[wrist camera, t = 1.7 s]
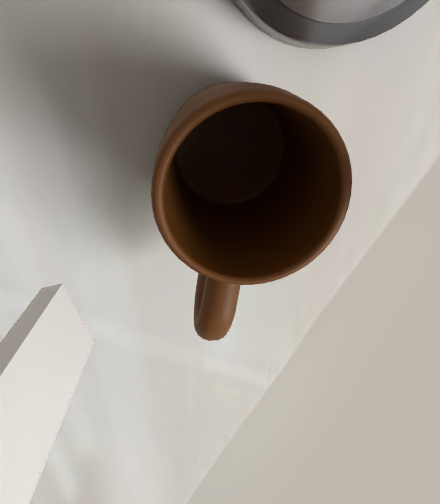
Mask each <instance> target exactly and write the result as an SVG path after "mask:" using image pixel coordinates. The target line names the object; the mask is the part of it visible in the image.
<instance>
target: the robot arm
mask: <svg viewBox="0 0 440 504" xmlns="http://www.w3.org/2000/svg"><path fill="white" fill-rule="evenodd" d="M94 342H95V340H94V339H93V337H92V335H91V333H90V332H89V330H88V328H87V326H86V324H85V323H84V321H83V319H82V317H81V316H80V314H79V312H78V310H77V309H76V307H75V305H74V303H73V301H72V300H71V298H70V296H69V294H68V293H67V291H66V289H65V287H64V285H63V284H58V285H54V286H50V287H45V288H42V289H41V290H40V291H39V293H38V294H37V295H36V296H35V298H34V299H33V300H32V302H31V303H30V304H29V306H28V307H27V308H26V310H25V311H24V312H23V314H22V315H21V316H20V318H19V319H18V320H17V322H16V323H15V324H14V326H13V327H12V328H11V330H10V331H9V332H8V334H7V335H6V336H5V337H4V339H3V340H2V341H1V343H0V504H29V503H30V500H31V498H32V495H33V493H34V490H35V488H36V486H37V483H38V481H39V478H40V476H41V473H42V471H43V468H44V466H45V463H46V461H47V458H48V456H49V453H50V451H51V448H52V446H53V443H54V441H55V438H56V436H57V434H58V431H59V429H60V426H61V424H62V421H63V419H64V416H65V414H66V411H67V409H68V406H69V404H70V401H71V399H72V396H73V394H74V391H75V389H76V387H77V384H78V382H79V379H80V377H81V374H82V372H83V369H84V367H85V364H86V362H87V359H88V357H89V354H90V352H91V349H92V347H93V344H94Z"/></svg>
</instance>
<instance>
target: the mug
mask: <svg viewBox="0 0 440 504" xmlns="http://www.w3.org/2000/svg"><path fill="white" fill-rule="evenodd" d="M351 187H352V171H351V164H350V159H349V155H348V152H347V149H346V146H345V143H344V141H343V140H342V138H341V136H340V134H339V132H338V130H337V129H336V128H335V126H334V125H333V124H332V122H331V121H330V120H329V119H328V118H327V117H326V116H325V115H324V114H323V113H322V112H321V111H320V110H318V109H317V108H316V107H314V106H313V105H312V104H310V103H309V102H307V101H305V100H303V99H301V98H300V97H298V96H296V95H294V94H292V93H290V92H288V91H286V90H283V89H280V88H278V87H275V86H271V85H265V84H260V83H250V82H226V83H219V84H216V85H212V86H210V87H207V88H205V89H203V90H201V91H200V92H198V93H196V94H195V95H194V96H192V97H191V98H190V99H189V100H188V101H187V102H186V103H185V104H184V105H183V106H182V107H181V108H180V110H179V111H178V113H177V114H176V116H175V117H174V119H173V120H172V122H171V124H170V125H169V127H168V129H167V131H166V133H165V135H164V137H163V139H162V141H161V143H160V146H159V149H158V152H157V155H156V159H155V164H154V169H153V177H152V188H151V198H152V208H153V213H154V218H155V221H156V224H157V226H158V229H159V231H160V233H161V235H162V237H163V239H164V241H165V242H166V244H167V245H168V246H169V248H170V249H171V251H172V252H173V253H174V254H175V255H176V256H177V257H178V258H179V259H180V260H181V261H182V262H184V263H185V264H186V265H187V266H189V267H190V268H191V269H193V270H195V271H196V272H198V273H199V274H198V279H197V286H196V294H195V304H194V327H195V330H196V332H197V334H198V335H199V336H200V337H201V338H203V339H206V340H209V341H210V340H219V339H221V338H223V337H224V336H225V335H226V334H227V332H228V331H229V329H230V327H231V324H232V321H233V319H234V315H235V311H236V306H237V300H238V295H239V290H240V285H253V284H261V283H267V282H271V281H275V280H278V279H281V278H283V277H286V276H288V275H290V274H292V273H294V272H296V271H298V270H300V269H301V268H303V267H305V266H306V265H308V264H309V263H310V262H311V261H313V260H314V259H315V258H316V257H317V256H318V255H319V254H321V253H322V252H323V251H324V250H325V248H326V247H327V246H328V245H329V244H330V242H331V241H332V240H333V238H334V237H335V235H336V234H337V232H338V230H339V228H340V226H341V224H342V222H343V220H344V218H345V215H346V212H347V210H348V206H349V201H350V197H351Z"/></svg>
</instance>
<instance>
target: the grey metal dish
mask: <svg viewBox="0 0 440 504" xmlns="http://www.w3.org/2000/svg"><path fill="white" fill-rule="evenodd" d="M428 1H429V0H234V2H235V3H236V5H237V6H238V7H239V8H240V10H241V11H242V12H243V13H244V14H245V16H246V17H247V18H248V19H249V20H250V21H251V22H252V23H253V24H255V25H256V26H257V27H258V28H259V29H260V30H262V31H263V32H265V33H266V34H268V35H269V36H271V37H273V38H275V39H277V40H279V41H281V42H283V43H285V44H289V45H292V46H296V47H301V48H308V49H326V48H331V47H337V46H342V45H346V44H351V43H355V42H360V41H363V40H366V39H369V38H372V37H375V36H378V35H380V34H382V33H384V32H386V31H388V30H390V29H392V28H394V27H395V26H397V25H398V24H400V23H401V22H403V21H404V20H406V19H407V18H409V17H410V16H411V15H413V14H414V13H415V12H416V11H417V10H419V9H420V8H421V7H422V6H423V5H425V4H426V3H427V2H428Z"/></svg>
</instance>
